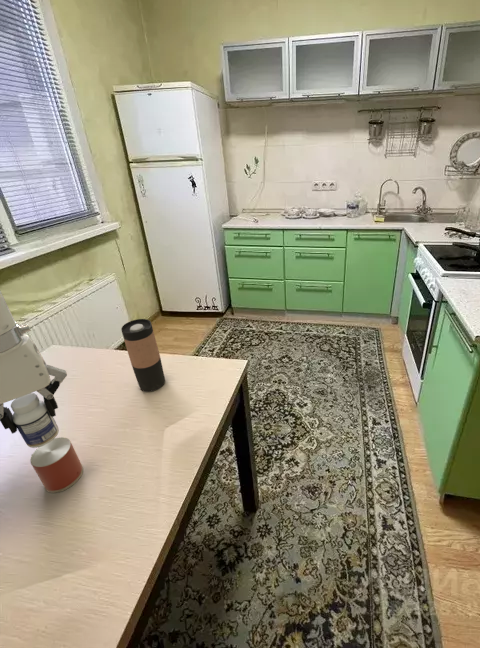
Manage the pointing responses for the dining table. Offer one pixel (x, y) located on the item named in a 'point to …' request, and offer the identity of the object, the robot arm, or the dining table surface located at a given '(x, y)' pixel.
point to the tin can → (57, 465)
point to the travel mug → (144, 354)
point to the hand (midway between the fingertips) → (34, 419)
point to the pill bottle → (33, 420)
